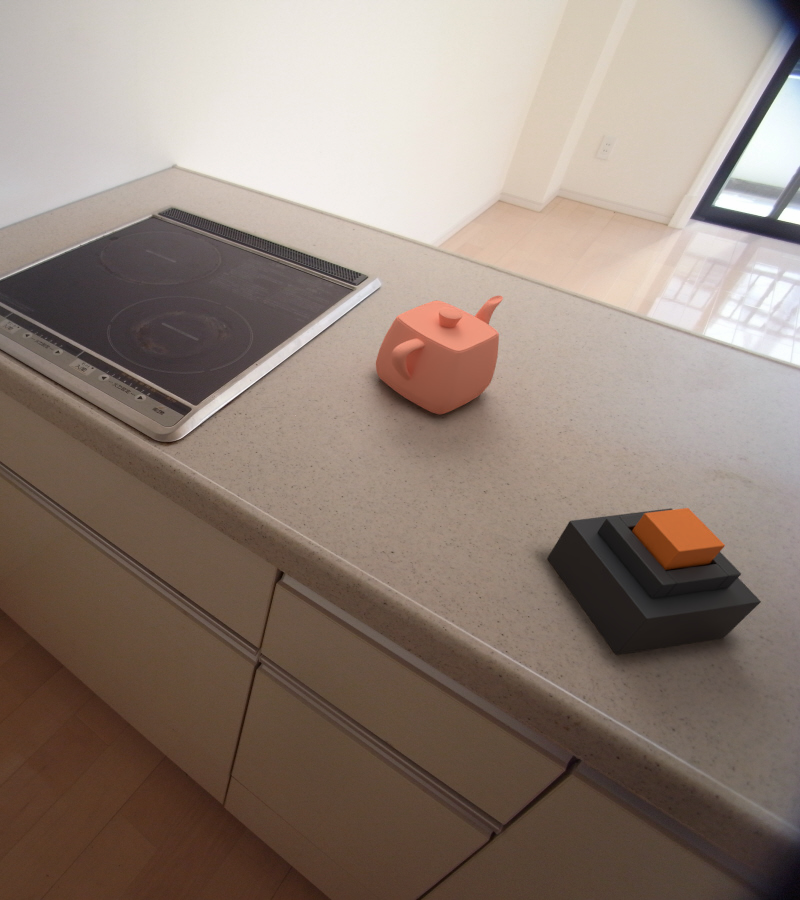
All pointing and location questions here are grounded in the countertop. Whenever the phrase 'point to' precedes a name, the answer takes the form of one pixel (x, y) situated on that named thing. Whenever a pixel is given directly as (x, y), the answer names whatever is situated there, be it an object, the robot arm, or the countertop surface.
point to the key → (677, 538)
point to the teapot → (440, 355)
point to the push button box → (646, 588)
